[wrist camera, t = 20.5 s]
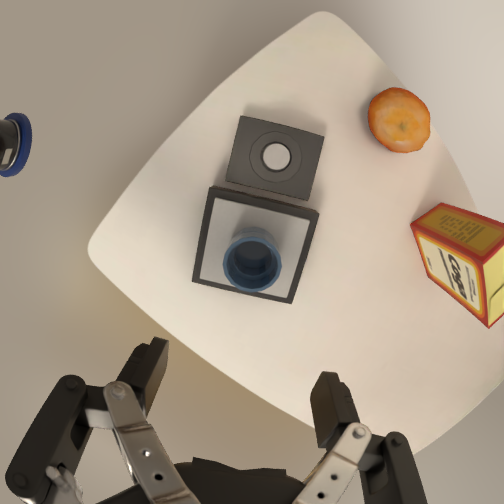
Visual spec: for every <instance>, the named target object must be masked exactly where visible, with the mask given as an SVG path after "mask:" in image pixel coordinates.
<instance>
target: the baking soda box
mask: <svg viewBox="0 0 504 504" xmlns="http://www.w3.org/2000/svg"><path fill="white" fill-rule="evenodd" d="M410 226H411V229H412V231H413V234H414V237H415V239H416V242H417V245H418V248H419V251H420V254H421V257H422V260H423V263H424V266H425V269H426V273H427V276H428V278H430V279H431V280H432V281H434V282H435V283H436V284H437V285H438V286H440V287H441V288H442V289H443V290H445V291H446V292H447V293H448V294H449V295H451V296H452V297H453V298H454V299H455V300H457V301H458V302H459V303H460V304H461V305H462V306H464V307H465V308H466V309H467V310H468V311H469V312H471V313H472V314H473V315H474V316H475V317H476V318H477V319H478V320H479V321H481V322H482V323H483V324H484V325H485V326H486V327H487V328H488V329H489V328H490V327H491V326H492V325H493V324H494V323H496V322H497V321H498V320H499V319H500V318H501V317H502V316H503V315H504V223H501V222H499V221H496V220H493V219H491V218H488V217H485V216H482V215H479V214H476V213H473V212H470V211H467V210H464V209H461V208H458V207H455V206H451V205H448V204H445V203H440V204H439V205H437V206H436V207H434V208H433V209H431V210H430V211H429V212H427V213H426V214H424V215H423V216H421V217H420V218H418V219H417V220H415V221H414V222H412V223H411V224H410Z"/></svg>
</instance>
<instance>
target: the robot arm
mask: <svg viewBox="0 0 504 504" xmlns="http://www.w3.org/2000/svg"><path fill="white" fill-rule="evenodd" d="M21 142H22V133H21V128H20V125H19V123H18V122H17V121H16V120H11V119H9V120H0V171H1V170H2V171H4V170H9V169H10V168H12V167H13V165H14V164H15V162H16V161H17V158H18V156H19V153H20V149H21ZM168 347H169V341H168V340H165V339H162V338H158V337H154V338H153V340H152V341H151V343H150V345H148V344H145V343H142V344H140V345H139V346H137V347H136V348H135V349H134V351H133V353H132V354H131V356H130V357H129V359H128V361H127V362H126V364H125V366H124V367H123V369H122V371H121V372H120V374H119V376H118V377H117V379H116V381H114V382H110V383H108V384H107V385H106V386H105V387H97V386H90V385H86V384H85V382H84V380H83V379H82V378H81V377H79V376H76V375H66V376H63V377H62V378H61V379H60V380H59V381H58V383H57V384H56V386H55V387H54V389H53V390H52V392H51V393H50V395H49V396H48V398H47V400H46V401H45V403H44V404H43V406H42V408H41V409H40V411H39V413H38V414H37V416H36V418H35V419H34V421H33V423H32V424H31V426H30V428H29V429H28V431H27V433H26V435H25V437H24V438H23V440H22V442H21V444H20V446H19V448H18V449H17V451H16V453H15V455H14V457H13V459H12V461H11V463H10V465H9V467H8V469H7V471H6V474H5V480H6V484H7V486H8V488H9V489H10V490H11V491H12V492H13V493H14V494H15V495H16V496H18V497H19V498H20V499H21V500H22V501H23V502H24V503H26V504H83V501H82V494H83V492H82V488H81V485H80V484H79V482H78V481H77V480H76V479H75V477H74V474H75V471H76V469H77V466H78V464H79V461H80V459H81V456H82V454H83V451H84V449H85V447H86V444H87V442H88V439H89V437H90V435H91V432H92V430H93V428H102V429H111V430H112V432H113V435H114V437H115V440H116V442H117V445H118V447H119V450H120V452H121V455H122V457H123V460H124V462H125V465H126V467H127V470H128V472H129V474H130V476H131V478H132V481H133V483H134V486H132V487H130V488H128V489H126V490H124V491H122V492H120V493H118V494H116V495H114V496H112V497H110V498H107V499H105V500H103V501H101V502H99V503H97V504H337V502H338V501H339V499H340V498H341V496H342V495H343V493H344V492H345V490H346V488H347V487H348V485H349V483H350V482H351V480H352V478H353V477H354V475H355V473H356V471H357V470H359V472H360V478H361V483H362V489H363V495H364V502H365V504H428V503H427V500H426V496H425V493H424V490H423V486H422V483H421V479H420V476H419V473H418V470H417V467H416V464H415V461H414V458H413V455H412V452H411V449H410V446H409V443H408V440H407V438H406V437H405V436H404V435H403V434H401V433H399V432H390V433H388V434H387V436H386V437H383V436H379V435H374V434H372V433H371V431H370V429H369V428H368V427H367V426H366V425H364V424H362V423H360V420H359V417H358V414H357V411H356V408H355V405H354V403H353V399H352V398H351V397H352V396H351V393H350V390H349V388H348V387H347V386H346V385H345V383H344V382H340V380H339V377H338V374H337V373H335V372H326V371H323V372H322V373H321V374H320V376H319V378H318V380H317V382H316V384H315V386H314V388H313V389H312V392H311V396H310V402H311V408H312V414H313V419H314V425H315V431H316V437H317V443H318V448H326V450H327V452H326V453H325V454H324V456H323V457H322V458H321V460H320V461H319V462H318V464H317V465H316V466H315V468H314V469H313V470H312V472H311V473H310V474H309V475H308V476H307V478H306V479H305V480H304V481H303V482H301V481H299V480H297V479H295V478H293V477H290V476H287V475H286V469H270V468H261V469H250V470H238V469H235V468H232V467H229V466H227V465H224V464H221V463H219V462H215V461H210V460H205V459H200V458H196V457H193V461H192V462H184V463H177V464H173V463H172V462H171V460H170V458H169V456H168V455H167V453H166V451H165V449H164V447H163V445H162V444H161V442H160V440H159V438H158V436H157V434H156V432H155V430H154V428H153V427H152V425H151V424H148V422H147V421H146V418H147V415H148V413H149V411H150V408H151V406H152V403H153V401H154V398H155V395H156V393H157V391H158V388H159V386H160V383H161V381H162V378H163V376H164V374H165V371H166V367H167V359H168ZM386 470H387V471H386ZM387 474H388V475H387Z"/></svg>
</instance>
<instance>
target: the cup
mask: <svg viewBox="0 0 504 504" xmlns="http://www.w3.org/2000/svg"><path fill="white" fill-rule="evenodd" d="M281 269H282V262H281V256H280V251H279V247H278V243H277V241H276V240H275V238H274V236H273V235H272V234H271V233H269V232H268V231H266V230H265V229H262V228H258V227H248V228H244V229H242V230H240V231H238V232H237V233H235V234H234V236H233V237H232V238H231V240H230V241H229V244H228V246H227V249H226V252H225V254H224V259H223V270H224V274H225V276H226V278H227V279H228V280H229V282H230V283H231V284H232V285H233V286H235V287H236V288H238V289H239V290H242V291H247V292H259V291H263V290H265V289H267V288H269V287H271V286H272V285H273V284H274V283H275V282H276V280H277V279H278V278H279V276H280V272H281Z"/></svg>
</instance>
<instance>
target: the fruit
mask: <svg viewBox="0 0 504 504" xmlns="http://www.w3.org/2000/svg"><path fill="white" fill-rule="evenodd" d="M368 122H369V127H370V130H371V132H372V133H373V135H374V136H375V137H376V139H377V140H378V141H379V142H380V143H381V144H383V145H384V146H385V147H387V148H388V149H389V150H390V151H392V152H397V153H409V152H412V151H417V150H420V149H421V148H422V147H423V145H424V143H425V142H426V141H427V140H428V138H429V136H430V113H429V111H428V109H427V107H426V105H425V104H424V103H423V102H422V101H421V100H420V99H419V98H418V97H417V96H416V95H414V94H413V93H411V92H410V91H408V90H405V89H402V88H395V87H392V88H389V89H387V90H384V91H382V92H381V93H379V94H378V95H377V96H375V97H374V98H373V100H372V101H371V103H370V106H369V110H368Z"/></svg>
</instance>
